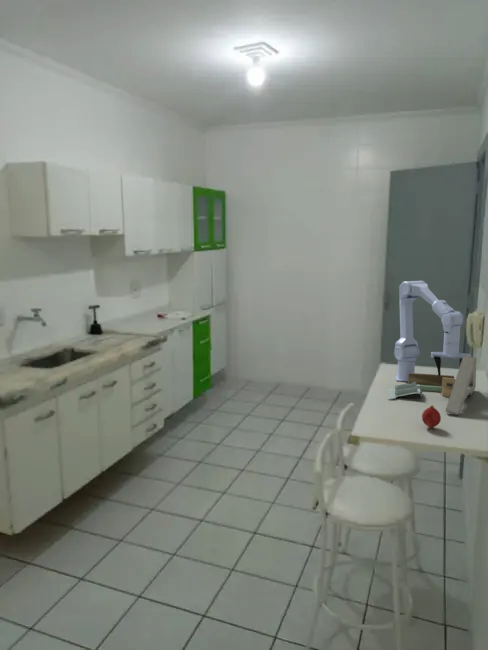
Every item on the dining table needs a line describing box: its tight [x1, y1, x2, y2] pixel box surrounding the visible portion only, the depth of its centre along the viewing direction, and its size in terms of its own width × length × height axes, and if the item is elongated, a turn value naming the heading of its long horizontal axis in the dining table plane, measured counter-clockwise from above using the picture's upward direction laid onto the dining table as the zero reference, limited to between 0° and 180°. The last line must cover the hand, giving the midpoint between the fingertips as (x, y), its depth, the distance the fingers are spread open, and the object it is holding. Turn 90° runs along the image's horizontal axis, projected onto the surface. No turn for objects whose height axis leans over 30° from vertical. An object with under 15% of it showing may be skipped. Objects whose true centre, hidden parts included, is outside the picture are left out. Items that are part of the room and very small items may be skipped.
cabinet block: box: [441, 377, 456, 398], centre depth 203 cm, size 6×4×6 cm
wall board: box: [407, 372, 455, 386], centre depth 215 cm, size 2×18×5 cm, turn 73°
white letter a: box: [445, 355, 477, 416], centre depth 194 cm, size 22×4×30 cm
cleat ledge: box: [417, 384, 442, 393], centre depth 212 cm, size 7×16×2 cm, turn 73°
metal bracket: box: [386, 382, 425, 401], centre depth 203 cm, size 14×6×15 cm
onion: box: [421, 405, 442, 429], centre depth 167 cm, size 6×6×8 cm
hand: (449, 376), depth 202 cm, fingers open, 7 cm apart
